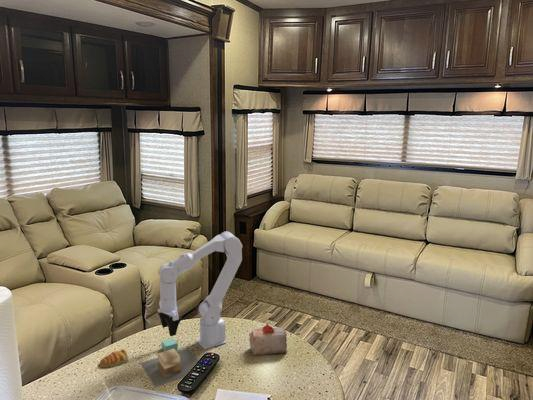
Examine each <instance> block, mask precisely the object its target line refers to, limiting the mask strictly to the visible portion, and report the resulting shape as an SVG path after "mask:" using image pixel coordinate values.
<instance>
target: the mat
mask: <svg viewBox="0 0 533 400" xmlns="http://www.w3.org/2000/svg"><path fill="white" fill-rule="evenodd" d="M176 352H177V353H178V354H179V355H180V363H181V372H180V373H177V374H174V375H172V376H169V377H166V378H164V377H163V375H162V374H161V372H160V371H159V370H158V361H159V356H158V357H155V358H152V359H149V360H145V361H143V362H140V365H141V367H142V368H143V369H144V371H145V373H146V374H147V376H148V377H149V379H150V380H151V382H152V384H153V385H154V387H156V388H157V387H159V386H163V385H165V384H168V383H171V382H174V381H177V380H180V379H182V378H186V377H187V376H186V375H187V374H188V372H190V370H191V369H192V368H193V367H194V366H195V364H196V363H197V362H198V361H200V360H199V359H198V357H196V356H195V354H194V353H193V352H192V351H191V350H190V348H184V349H181V350H177V351H176ZM185 376H186V377H185Z"/></svg>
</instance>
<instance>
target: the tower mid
mask: <svg viewBox="0 0 533 400" xmlns="http://www.w3.org/2000/svg"><path fill="white" fill-rule="evenodd" d="M158 357H159V362H160V363H161V365H162V366H163V368H164V369H166V368H170V367H173V366H176V365H179V364H180V355H179V354H178V353H177V351H176V350H175V349H171V350H168V351H164V350H163V351H161V352H158Z"/></svg>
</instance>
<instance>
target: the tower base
mask: <svg viewBox="0 0 533 400" xmlns="http://www.w3.org/2000/svg"><path fill="white" fill-rule="evenodd" d="M158 370H159V371H160V372H161V374H162V375H163V377H164V378H166V377H169V376H172V375H174V374H177V373H180V372H181V363H180V364H179V365H176V366H173V367H170V368H166V369H164V368H163V366H162V365H161V363H160V362H159V361H158Z"/></svg>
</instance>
